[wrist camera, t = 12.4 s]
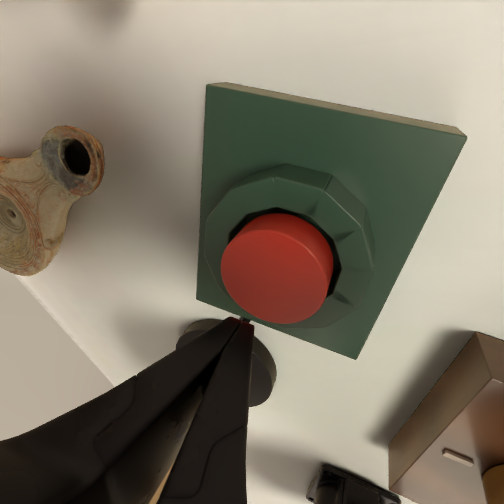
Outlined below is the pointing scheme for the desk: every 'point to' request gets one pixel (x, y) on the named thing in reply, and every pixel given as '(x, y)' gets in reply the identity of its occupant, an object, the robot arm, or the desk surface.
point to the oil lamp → (44, 196)
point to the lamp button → (278, 268)
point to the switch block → (320, 195)
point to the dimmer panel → (454, 431)
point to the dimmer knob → (494, 485)
